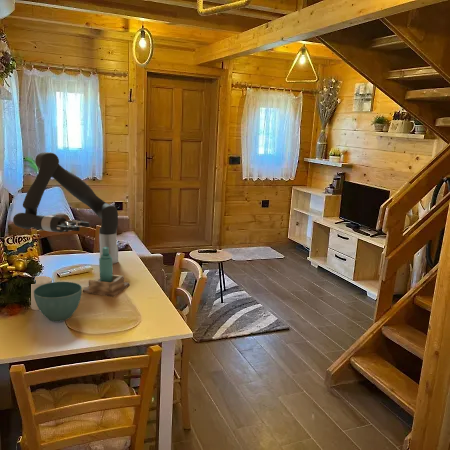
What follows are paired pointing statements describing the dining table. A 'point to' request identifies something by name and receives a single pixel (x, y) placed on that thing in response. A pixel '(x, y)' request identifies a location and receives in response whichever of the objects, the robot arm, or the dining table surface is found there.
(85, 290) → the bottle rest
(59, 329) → the dining table surface
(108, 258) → the bottle
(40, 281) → the candle holder
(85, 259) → the dining table surface
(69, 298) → the teal bowl
